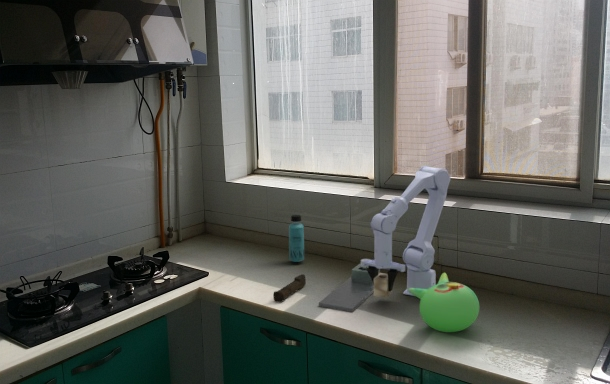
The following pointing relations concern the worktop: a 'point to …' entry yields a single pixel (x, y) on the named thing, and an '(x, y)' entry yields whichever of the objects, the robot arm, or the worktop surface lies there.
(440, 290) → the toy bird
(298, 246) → the beverage bottle
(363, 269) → the press pin
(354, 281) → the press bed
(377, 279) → the block
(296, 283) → the hand tool
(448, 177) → the robot arm
